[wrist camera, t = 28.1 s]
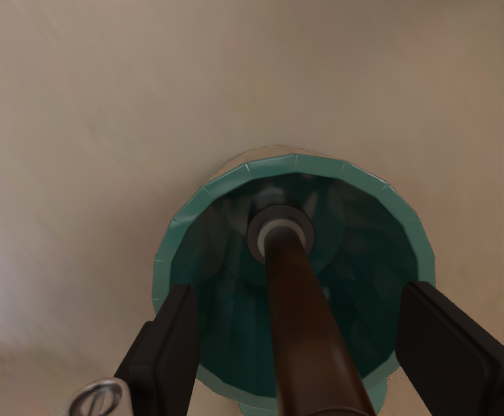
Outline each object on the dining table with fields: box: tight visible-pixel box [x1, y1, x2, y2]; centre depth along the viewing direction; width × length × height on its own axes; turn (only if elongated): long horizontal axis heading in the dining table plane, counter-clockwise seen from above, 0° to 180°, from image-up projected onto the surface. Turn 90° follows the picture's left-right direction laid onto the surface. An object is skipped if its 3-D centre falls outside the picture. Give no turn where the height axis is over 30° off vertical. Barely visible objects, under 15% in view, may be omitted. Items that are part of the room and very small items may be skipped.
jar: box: [152, 145, 436, 411], centre depth 17 cm, size 11×11×10 cm
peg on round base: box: [246, 195, 377, 416], centre depth 14 cm, size 4×4×16 cm
